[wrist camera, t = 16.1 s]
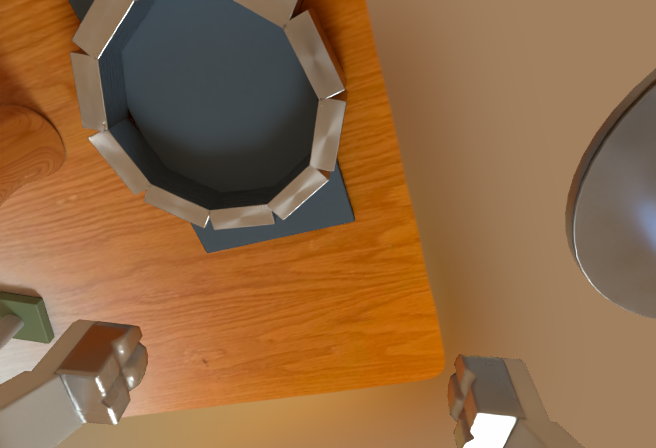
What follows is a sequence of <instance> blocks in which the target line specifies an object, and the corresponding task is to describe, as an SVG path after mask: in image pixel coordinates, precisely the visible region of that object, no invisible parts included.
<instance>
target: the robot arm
mask: <svg viewBox="0 0 656 448" xmlns="http://www.w3.org/2000/svg"><path fill="white" fill-rule="evenodd" d="M141 337H142V333H141V330H140V327H139V326H134V325H126V324H117V323H109V322H100V321H89V320H80V319H79V320H78V321H76V322H74V323H72V324H71V326H70V327H69V328H68V329H67V330H66V331H65V333H64V334H63V335H62V336H61V337H60V338H59V340H58V341H57V342H56V343H55V344H54V345H53V347H52V348H51V349H50V350H49V351H48V352H47V354H46V355H45V356H44V357H43V358H42V359H41V361H40V362H39V363H38V364H37V365H36V366H35V368H34V369H33V370H32V371H24V372H22V373H21V374H19V375H17V376H15V377H13V378H12V379H10V380H8V381H6V382H4V383H2V384H1V385H0V448H54V447H56V446H57V445H58V444H59V443H61V442H62V441H63V440H64V439H65V438H67V437H68V436H69V435H70V434H72V433H73V432H74V431H75V430H76V429H78V428H79V427H80V426H81V425H82V422H83V423H97V424H98V423H99V424H112V425H117V423H118V422H119V420H120V418H121V416H122V414H123V413H124V411H125V409H126V407H127V406H128V404H129V402H130V395H129V391H131V390H132V389H134V388H135V387H136V386H138V385H139V384H140V382H141V380H142V378H143V376H144V375H145V371H146V367H147V364H148V354H147V350H146V347H145V346H143V345H142V344H141V343H140V342H139V341H140V339H141ZM454 365H455V369H456V373H455V374H453V375H451V377H450V380H449V384H448V406H449V411H450V415H451V416H452V417H453V418H454V420H455V421H456V422H457V424H456V427H455V430H454V436H455V441H456V445H457V448H584V447H583V446H582V445H581V444H580V443H579V442H578V441H577V440H576V439H574V438H573V437H572V436H571V435H570V434H569V433H568V432H567V431H566V430H565V429H563V427H561V426H560V425H559V424H558V423H557V422H551V421H550V420H549V417H548V415H547V413H546V410H545V408H544V406H543V403H542V401H541V399H540V397H539V394H538V392H537V390H536V387H535V385H534V383H533V380H532V378H531V376H530V373H529V371H528V369H527V367H526V364H525V363H524V362H523V361H522V360H520V359H508V358H498V357H486V356H475V355H462V354H460V355H458V357H457V358H456V361H455V364H454Z"/></svg>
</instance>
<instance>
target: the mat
mask: <svg viewBox="0 0 656 448" xmlns="http://www.w3.org/2000/svg"><path fill="white" fill-rule="evenodd" d="M69 2H70V4H71V6H72V7H73V9H74V11H75V13H76V15H77V17H78V18H79V20H80V22H82V21H83V19H84V17H85V15H86V14H87V12H88V10H89V9H90V7H91V5H92V3H93V2H94V0H69ZM121 53H122V62H123V71H124V81H125V90H126V99H127V108H128V110H129V111H130V113H131V115H132V117H133V119H134V121H135V122H136V124H137V126H138V128H139V130H140V131H141V133H142V135H143V137H144V138H145V139H146V141H147V142H148V143H149V145H150V146H151V147H152V149H153V150H154V151H155V153H156V154H157V155H158V157H159V158H160V159H161V161H162V162H163V163H164V165H165V166H166V167H167V168H168V169H170V170H172V171H174V172H176V173H178V174H181V175H183V176H185V177H187V178H189V179H191V180H194V181H196V182H198V183H200V184H202V185H204V186H207V187H209V188H211V189H213V190H215V191H217V192H220V193H225V192H234V191H243V190H252V189H260V188H269V187H275V186H276V185H277V184H278V183H279V182H280V181H281V180H282V179H283V178H284V177H285V176H286V175H287V174H288V173H290V172H291V171H292V170H293V169H294V168H295V167H296V166H297V165H298V164H299V163H300V162H301V161H302V160H303V159H304V158H305V157H306V156H308V155H309V154H310V153H311V150H312V143H313V136H314V129H315V122H316V115H317V108H318V101H319V99H318V97H317V95H316V93H315V91H314V89H313V87H312V85H311V83H310V81H309V79H308V77H307V75H306V73H305V71H304V69H303V67H302V65H301V63H300V61H299V59H298V57H297V56H296V54H295V52H294V50H293V48H292V46H291V44H290V42H289V40H288V38H287V36H286V34H285V32H284V30H283V28H281V27H279V26H278V25H276V24H274V23H272V22H270V21H269V20H267V19H265V18H263V17H262V16H260V15H258V14H256V13H254V12H253V11H251V10H249V9H247V8H246V7H244V6H242V5H240V4H238V3H237V2H235V1H233V0H155V2H154V3H153V5H152V6H151V8H150V10H149V11H148V13H147V14H146V16H145V17H144V19H143V20H142V22H141V23H140V25H139V26H138V28H137V29H136V31H135V33H134V34H133V36H132V37H131V39H130V40H129V42H128V43H127V45H126V46H125V48H124V49H123V51H122V52H121ZM354 221H355V217H354V214H353V210H352V207H351V204H350V201H349V197H348V194H347V191H346V187H345V184H344V181H343V177H342V174H341V171H340V168H339V164H338V161H337V158H336V164H335V169H334V171H330V176H329V181H328V182H326V183H325V184H324V185H323V186H322V187H321V188H320V189H318V190H317V191H316V192H315V193H314V194H313V195H312V196H311V197H309V198H308V199H307V200H306V201H305V202H304V203H303V204H301V205H300V206H299V207H298V208H297V209H296V210H295V211H293V212H292V213H291V214H290V215H289V216H288V217H287V218H285V219H284V220H282V219H281V218H280V217H279V216H277V219H276V222H275V224H269V225H259V226H249V227H239V228H230V229H220V230H214V228H213V225H212V223H211V220H210V221H209V222H208V224H207V226H206V227H205V228H202V227H200V226H198V225H196V224H193V223H191V222H190V223H191V225H192V226H193V228H194V230H195V232H196V234H197V235H198V237H199V239H200V241H201V243H202V245H203V246H204V248H205V250H206V252H207V253H211V252H215V251H220V250H225V249H229V248H234V247H238V246H243V245H248V244H252V243H257V242H262V241H266V240H271V239H275V238H280V237H285V236H289V235H294V234H298V233H303V232H308V231H312V230H317V229H321V228H326V227H331V226H335V225H340V224H344V223H349V222H354Z"/></svg>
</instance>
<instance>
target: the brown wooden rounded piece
mask: <svg viewBox="0 0 656 448" xmlns="http://www.w3.org/2000/svg"><path fill="white" fill-rule="evenodd" d="M64 157H65V152H64V146H63V143H62V140H61V138H60V136H59V134H58V133H57V131H56V130H55V129H54V127H53V126H52V125H51V124H50V123H49V122H48V121H47V120H46V119H45V118H44V117H42V116H41V115H40V114H38V113H37V112H35V111H33V110H31V109H29V108H27V107H24V106H20V105H14V104H7V105H1V106H0V206H1V205H2V204H3V203H4V202H5V201H6V200H7V199H8V198H9V197H10V196H11V195H12V194H13V193H14V192H15V191H17V190H18V189H19V188H21V187H22V186H25V185H26V184H28V183H30V182H33V181H36V180H39V179H42V178H44V177H47V176H50V175H52V174H54V173H55V172H57V171H58V170H59V169H60V167H61V166H62V164H63V162H64Z"/></svg>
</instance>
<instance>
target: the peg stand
mask: <svg viewBox="0 0 656 448" xmlns="http://www.w3.org/2000/svg"><path fill="white" fill-rule="evenodd" d="M11 338H15V339H22V340H28V341H35V342H41V343H48V344H49V343H50V342H51V341H52V340H53V338H54V334H53V331H52V328H51V325H50V321H49V318H48V315H47V312H46V309H45V306H44V303H43V299H42V298H36V297H30V296H23V295H17V294H10V293H4V292H0V350H1V349H2V348H3V347H4V346H5V345H6V344H7V343H8V342H9V341H10V339H11Z"/></svg>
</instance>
